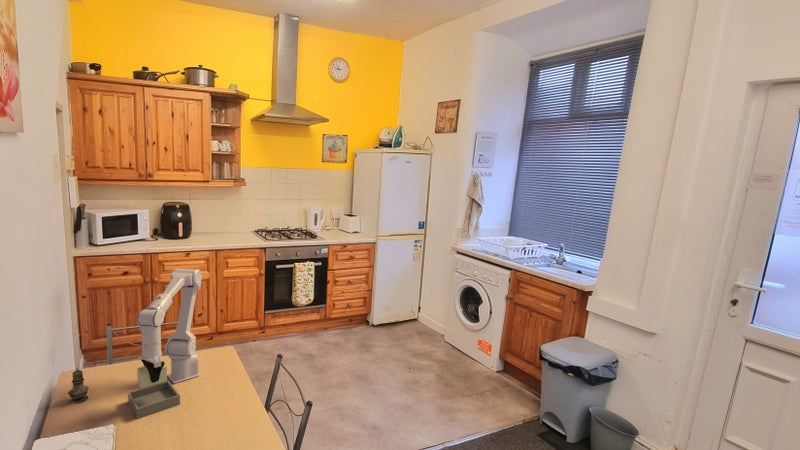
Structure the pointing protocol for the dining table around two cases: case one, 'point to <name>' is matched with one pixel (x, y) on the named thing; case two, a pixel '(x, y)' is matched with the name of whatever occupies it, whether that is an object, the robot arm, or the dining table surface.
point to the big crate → (153, 399)
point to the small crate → (144, 377)
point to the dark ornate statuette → (78, 388)
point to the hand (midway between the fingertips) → (152, 378)
